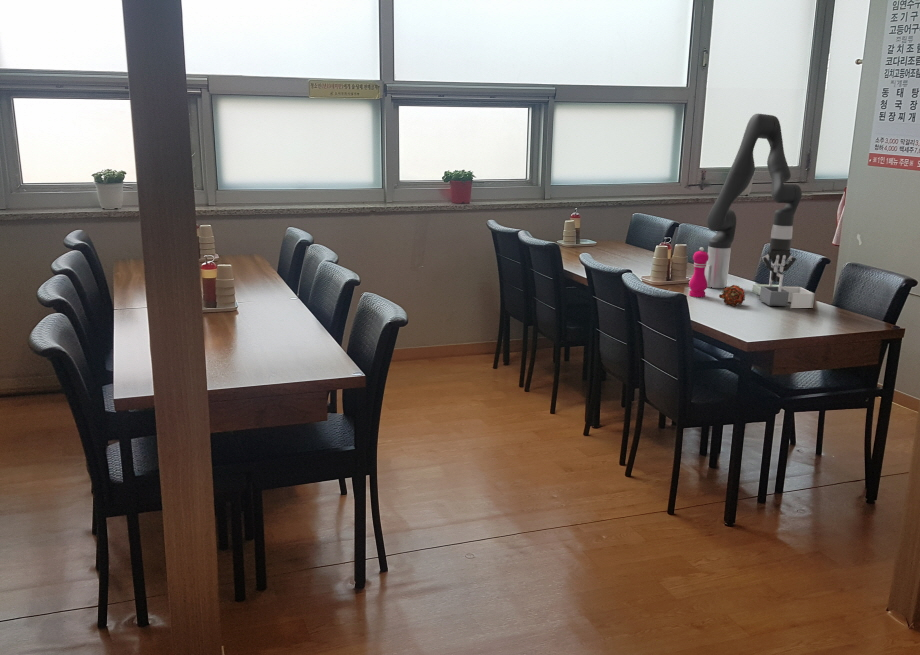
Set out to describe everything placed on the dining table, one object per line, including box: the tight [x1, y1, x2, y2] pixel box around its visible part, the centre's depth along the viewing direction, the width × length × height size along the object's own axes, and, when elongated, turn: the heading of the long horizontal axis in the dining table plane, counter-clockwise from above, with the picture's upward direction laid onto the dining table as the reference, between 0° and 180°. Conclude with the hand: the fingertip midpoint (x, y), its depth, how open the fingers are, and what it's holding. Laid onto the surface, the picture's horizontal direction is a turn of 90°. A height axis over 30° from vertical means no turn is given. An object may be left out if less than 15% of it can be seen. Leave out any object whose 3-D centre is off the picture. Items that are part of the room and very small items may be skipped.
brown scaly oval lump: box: [718, 284, 746, 307], centre depth 311 cm, size 8×8×12 cm
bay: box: [782, 286, 816, 309], centre depth 312 cm, size 8×13×6 cm, turn 1°
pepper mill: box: [688, 246, 709, 298], centre depth 324 cm, size 7×7×20 cm
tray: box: [751, 284, 779, 296], centre depth 330 cm, size 11×14×3 cm
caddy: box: [759, 270, 789, 307], centre depth 311 cm, size 7×10×12 cm
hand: (775, 281), depth 311 cm, fingers closed on caddy, 1 cm apart
